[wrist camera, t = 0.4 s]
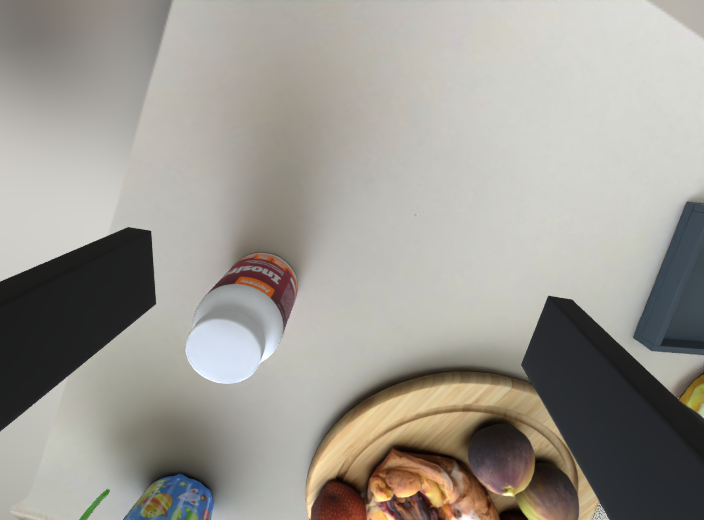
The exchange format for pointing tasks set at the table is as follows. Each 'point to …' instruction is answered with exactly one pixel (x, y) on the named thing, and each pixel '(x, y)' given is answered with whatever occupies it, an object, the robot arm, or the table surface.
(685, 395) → the decorated donut
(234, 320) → the pill bottle
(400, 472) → the wooden plate
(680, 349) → the tray
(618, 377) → the robot arm
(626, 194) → the table surface
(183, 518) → the snack cup
